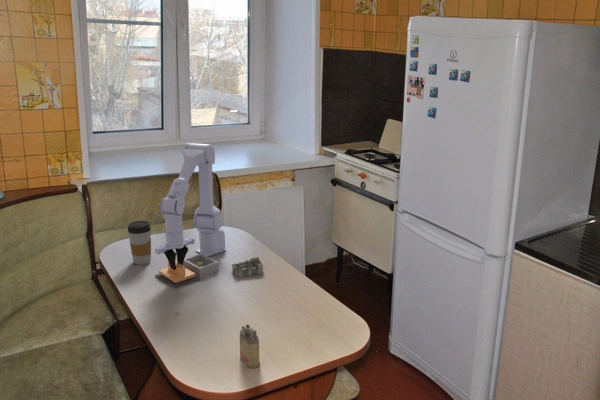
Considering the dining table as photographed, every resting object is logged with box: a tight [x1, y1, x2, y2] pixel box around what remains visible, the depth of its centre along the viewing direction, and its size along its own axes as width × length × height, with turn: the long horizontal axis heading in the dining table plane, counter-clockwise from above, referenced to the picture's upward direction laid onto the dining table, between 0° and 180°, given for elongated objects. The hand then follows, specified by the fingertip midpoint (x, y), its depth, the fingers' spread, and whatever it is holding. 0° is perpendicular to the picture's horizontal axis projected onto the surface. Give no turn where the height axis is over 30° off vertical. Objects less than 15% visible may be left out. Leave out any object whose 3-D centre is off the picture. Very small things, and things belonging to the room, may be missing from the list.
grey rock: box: [231, 256, 264, 278], centre depth 205 cm, size 11×8×4 cm
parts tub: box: [183, 253, 220, 279], centre depth 207 cm, size 8×11×4 cm
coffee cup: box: [127, 220, 152, 266], centre depth 212 cm, size 8×8×15 cm
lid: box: [158, 260, 196, 283], centre depth 199 cm, size 8×11×5 cm
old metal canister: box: [239, 323, 261, 369], centre depth 150 cm, size 7×4×10 cm, turn 34°
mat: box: [154, 273, 201, 289], centre depth 200 cm, size 10×13×1 cm
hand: (176, 267), depth 199 cm, fingers open, 2 cm apart
